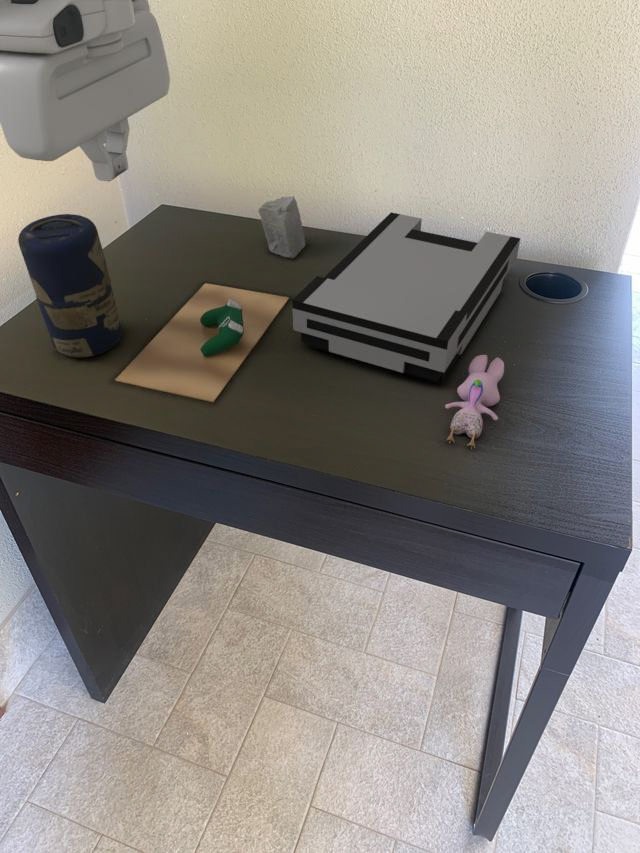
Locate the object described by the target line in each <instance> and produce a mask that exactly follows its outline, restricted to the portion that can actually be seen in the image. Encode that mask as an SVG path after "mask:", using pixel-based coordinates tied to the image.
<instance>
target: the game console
mask: <svg viewBox="0 0 640 853" xmlns="http://www.w3.org/2000/svg"><path fill="white" fill-rule="evenodd" d="M422 220H423V219H422V218H421V217H417V216H411V215H406V214H401V213H396V212H390V213H388V215H386V216H385V217H384V218H383V219H382V221H380V222H379V223H378V224H377V225H376V226H375V227H374V228H373V229H372V230H371V231H370V232H369V233H368V234H367V235H366V236H365V237H363V239H362V240H361V241H360V242H359V243H357V245H356V246H354V247H353V249H352V250H350V251H349V252H348V254H347V255H346V256H344V257H343V258H342V260H340V261H339V262H338V263H337V264H336V265H335V266H334V267H333V268H332V269H331V270H330V271H329V272H328V273H327V274H326V275H325V276H324V277H323V276H320V275H317V276H315V277H314V279H312V280H311V281H310V282H309V283H308V284H307V285H306V286H305V287H303V289H302V290H301V291H300V292H298V294H296V295H295V296H294V297H293V298H292V299H291V306H292V328H293V331H295V332H298V333H300V343H303V344H305V345H308V346H307V347H310V348H313V349H317V350H320V351H324V352H328V353H331V354H334V355H338V356H341V357H345V358H350V359H352V360H353V359H354V360H357V361H359V362H364V363H368V364H370V365H374V366H376V367H377V366H378V367H381V368H384V369H388V370H392V371H395V372H397V373H400V374H404V375H405V376H406V375H407V376H409V377H414V378H416V379H421V380H423V381H427V382H431V383H434V384H438V385H442V384H443V383H444V382H445V380H446V378H447V376H448V375H449V373H450V371H451V370H452V368H453V367H454V365H455V364H456V362H457V360H458V359H459V357H460V356H461V355H462V354H463V352H464V351H465V349H466V348H467V346H468V345H469V343H470V342H471V339H472V338H473V336H474V335H475V333H476V332H477V330H478V328H479V327H480V325H481V323H482V322H483V320H484V319H485V317H486V316H487V315H488V312H489V311H490V309H491V308H492V306H493V305H494V303H495V301H496V300H497V299H498V296H499V295H500V294H501V292H502V288H503V283H504V280H505V278H506V276H507V275H508V273H509V272H510V270H511V269H512V267H513V266H514V263H516V261H517V259H518V254H519V249H520V244H521V243H520V242H521V238H520V237H516V236H511V235H506V234H500V233H496V232H491V231H485V233H484V234H483V235H482V237H481V238H480V239H479V241H478V242H476V241H471V240H467V239H462V238H457V237H451V236H448V235H447V236H446V235H442V234H438V233H433V232H427V231H422Z"/></svg>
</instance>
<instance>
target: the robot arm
mask: <svg viewBox="0 0 640 853" xmlns="http://www.w3.org/2000/svg"><path fill="white" fill-rule="evenodd" d="M150 9H151V8H150V3H149V0H0V127H1V129H2V132H3V135H4V139H5V141H6V144H7V145H8V146H9V148H10V149H11V150H12V151H13V152H14V153H15V154H16V155H17V156H18V157H20V158H22V159H27V160H34V161H42V162H54V161H56V160H58V159H59V158H61V157H63V156H64V155H67V154H69V153H70V152H71V151H73V150H75V149H77V148H78V147H79V148H80V149H81V150H82V151H83V153H84V154H85V155H86V157H87V158H88V160H90V161H91V164H92V168H93V172H94V173H93V174H94V176H95V178H96V179H97V180H98V181H101V182H102V181H103V182H108V183H109V182H112V181H113V180H114V179H116V178H118V177H119V176H120V175H121V174H123V173H125V172H126V171H127V170H129V163H128V157H127V148H128V142H129V135H130V125H129V120H128V118H130V117H131V116H133V115H135V114H137V113H138V112H140V111H142V110H144V109H145V108H147V107H149V106H150V105H152V104H154V103H155V102H157V101H159V100H161V99H162V98H164V97H165V96H167V95H168V93H169V92H170V91H169V90H170V85H171V77H170V76H171V75H170V70H169V65H168V60H167V56H166V51H165V46H164V42H163V38H162V35H161V30H160V26H159V23H158V21H157V19H156V17H155V15H154V14H153V13H152V12H151V10H150Z"/></svg>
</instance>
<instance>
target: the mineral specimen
mask: <svg viewBox="0 0 640 853" xmlns="http://www.w3.org/2000/svg"><path fill="white" fill-rule="evenodd" d="M297 202H298V201H297V200H296V198H295V196H294V195H293V196H282V197H280V198H276V199H275V200H269V201H265V202H264V203H263V204H262V205H261V207H259V208H258V213H259V216H260V220H261V221H260V222H261V224H262V228H263V231H264V234H265V238H266V240H267V241H266V242H267V245H268V249H269V252H270V253H272V254H275V255H279V256H281V257H283V258H285V259H286V258H287V259H291V260H293V259H295V258H297V256H298V255H299V253H301V251H302V250H303V249H304V248H305V246H306V238H305V233H304V228H303V224H302V218H301V213H300V210H299V207H298V203H297Z"/></svg>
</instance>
